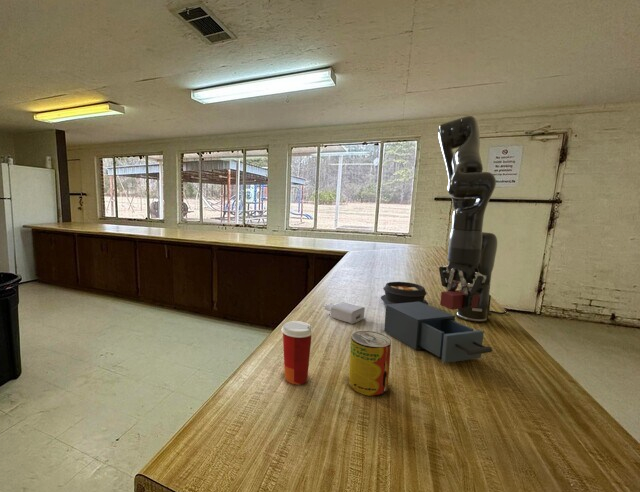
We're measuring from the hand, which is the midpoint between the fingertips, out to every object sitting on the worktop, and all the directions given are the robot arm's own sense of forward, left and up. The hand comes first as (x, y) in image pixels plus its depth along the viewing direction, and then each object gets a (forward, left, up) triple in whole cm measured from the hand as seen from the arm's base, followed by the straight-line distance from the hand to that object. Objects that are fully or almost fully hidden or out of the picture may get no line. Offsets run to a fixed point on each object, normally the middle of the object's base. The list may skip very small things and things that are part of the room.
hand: (458, 305), depth 91 cm
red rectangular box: (0, 0, 0) cm, 0 cm away
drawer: (+1, 0, -14) cm, 14 cm away
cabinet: (+1, -13, -15) cm, 20 cm away
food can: (+33, +7, -16) cm, 37 cm away
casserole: (-19, -43, -16) cm, 49 cm away
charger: (+15, -37, -16) cm, 43 cm away
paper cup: (+49, 0, -16) cm, 52 cm away
